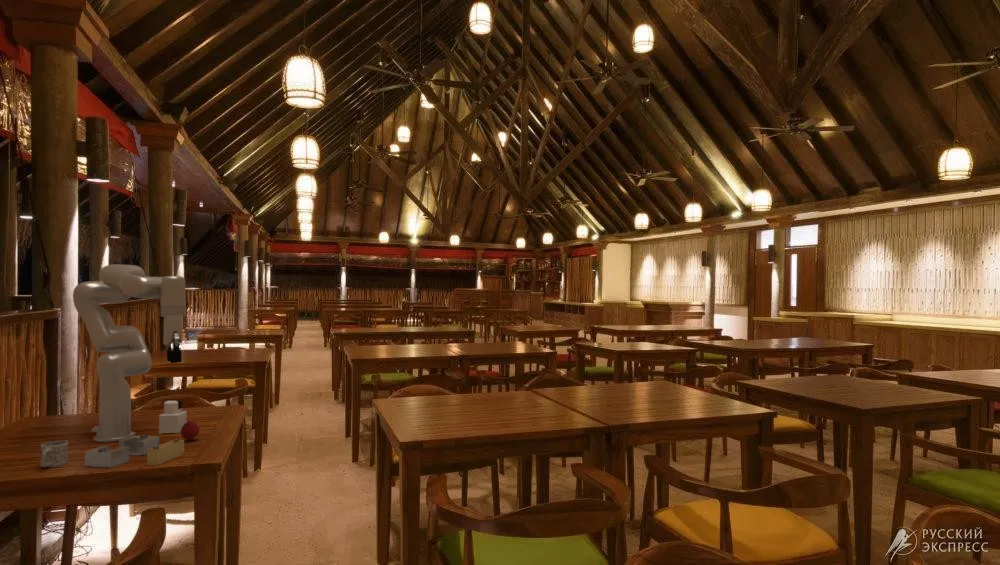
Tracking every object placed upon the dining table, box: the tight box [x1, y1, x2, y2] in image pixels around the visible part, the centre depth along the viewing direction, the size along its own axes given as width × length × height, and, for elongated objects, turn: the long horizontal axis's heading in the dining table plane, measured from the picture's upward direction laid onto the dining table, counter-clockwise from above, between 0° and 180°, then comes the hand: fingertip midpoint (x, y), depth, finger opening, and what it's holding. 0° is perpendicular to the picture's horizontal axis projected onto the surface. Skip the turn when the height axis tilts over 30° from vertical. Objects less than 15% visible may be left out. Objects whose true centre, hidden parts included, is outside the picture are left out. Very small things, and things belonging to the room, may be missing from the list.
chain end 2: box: [118, 434, 160, 456], centre depth 189 cm, size 9×7×5 cm
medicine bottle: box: [158, 399, 188, 435], centre depth 218 cm, size 7×7×12 cm
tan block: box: [146, 438, 185, 466], centre depth 181 cm, size 4×12×6 cm, turn 172°
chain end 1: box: [84, 445, 130, 469], centre depth 177 cm, size 9×7×5 cm
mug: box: [40, 440, 69, 469], centre depth 174 cm, size 10×7×7 cm, turn 13°
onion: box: [180, 418, 200, 442], centre depth 204 cm, size 6×6×8 cm
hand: (174, 361), depth 195 cm, fingers open, 9 cm apart
